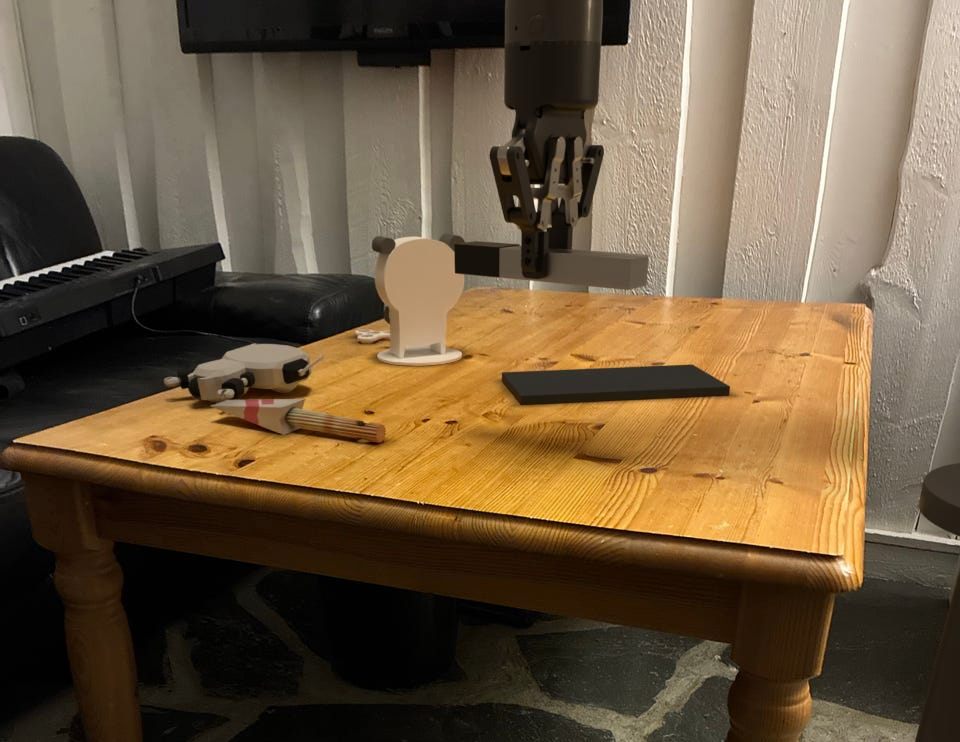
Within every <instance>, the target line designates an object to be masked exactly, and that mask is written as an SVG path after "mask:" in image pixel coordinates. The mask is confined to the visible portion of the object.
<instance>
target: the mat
mask: <svg viewBox="0 0 960 742" xmlns="http://www.w3.org/2000/svg"><path fill="white" fill-rule="evenodd" d="M501 382H502V383H503V384H504V385H505V387H506V388H507V389H508V390H509V391H510V392H511V394H512V395H513V396H514V397H515V399H516V400H517V401H518V403H520V405H522V406H523V405H525V406H526V405H543V404H545V405H547V404H565V403H590V402H610V401H612V402H613V401H633V400H654V399H674V398H695V397H696V398H697V397H698V398H699V397H716V396H717V397H718V396H730V391H731V385H729V384H727V383H725V382H723V380H720V379H718V378H717V377H715V376H713V375H711V374H710V373H708V372H707V371H704V370H703V369H701V368H699V367H698V366H696V365H694V364H669V365H667V364H666V365H647V366H645V365H644V366H622V367H618V366H617V367H597V368H596V367H595V368H594V367H593V368H574V369H573V368H572V369H571V368H570V369H569V368H568V369H547V370H545V369H544V370H526V371H525V370H523V371H521V370H520V371H503V372H501Z"/></svg>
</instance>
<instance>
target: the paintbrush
mask: <svg viewBox="0 0 960 742" xmlns="http://www.w3.org/2000/svg"><path fill="white" fill-rule="evenodd" d="M305 401H306V398H273V399H271V398H268V399H267V398H266V399H265V398H264V399H261V398H260V399H235V400H226V401H223V402H220V403H214V404H211V405H210V407H212V408H214V409H217V410H219V411H222V412H225V413H227V414H230V415H232V416H234V417H237V418H240V419H241V420H244V421H247V422H250V423H252V424H255V425H258V426H260V427H262V428H265V429H267V430H270V431H272V432H275V433H277V434H280V435H281V436H285V435H287V434H289V433H292V432H294V431H297V430H299V429H305V430H311V431H315V432H321V433H327V434H331V435H337V436H342V437H347V438H351V439H356V440H357V439H358V438H359V439H363V440H364V441H367V442H371V443H377V444H379V443H382V442H383V441H385V440H384V439H386V435H387V430H386V429H387V428H386V425H384V424H382V423H378V422H372V421H370V422H365V421H364V420H360V419H356V418H351V417H345V416H340V415H334V414H329V413H324V412H318V411H314V410H308V409H303V408H304V405H305V403H306V402H305Z"/></svg>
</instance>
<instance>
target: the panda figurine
mask: <svg viewBox="0 0 960 742" xmlns="http://www.w3.org/2000/svg"><path fill="white" fill-rule="evenodd" d="M458 243H466V242H465V239H464V238H463V237H462V236H460V235H457V234H451V233H443V234H442V235H441V236H440V237H439V240H438V239H432V238H428V237H424V236H405V237H400V238H396V239H393V238H391V237H387V236H382V235H377V236H374V237H373V239H372V242H371V249H372V251H373V252H375V253H379V254H378V257H377V260H376V265H375V270H374V284H375V289H376V292H377V294H378V296H379V298H380V300H381V301H382V302H383V304H385V305H386V306H385V307H384V310H383V314H382V315H383V319H384V321H385V322H386V323H387V324H389V331H390V338H389V348H387V349H384V350H381V351H380V352H378V353H377V357H376V358H377V360H378V361H380V362H382V363H384V364H385V363H386V364H390V365H397V366H412V367H415V366H417V367H418V366H420V367H422V366H423V367H424V366H435V365H436V366H438V365H444V364H449V363H453V362H457V361H459V360H461V359H462V357H463V353H462V352H461V350H458V349H456V348H452V347H451V348H450V347H446V343H447V327H448V326H447V325H448V313H449V311H451V310H452V308H454V307H455V305H456V304H457V303H458V301H459V299H460V298H461V296H462V293H463V290H464V289H465V288H464V287H465V274H456V273H455V253H454V244H458Z"/></svg>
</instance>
